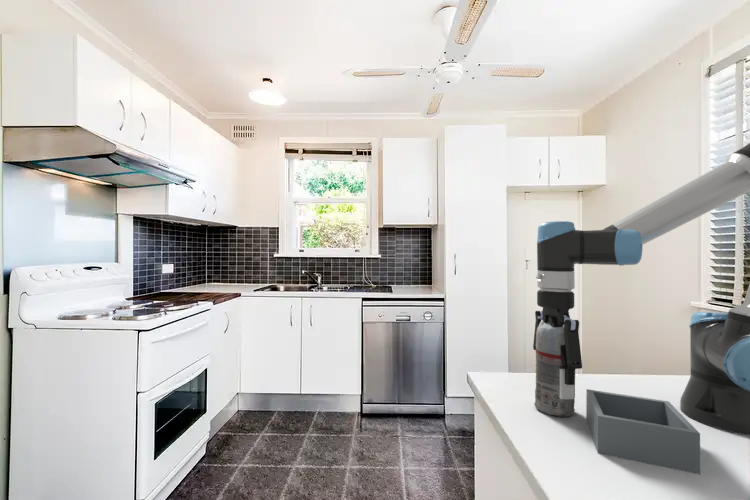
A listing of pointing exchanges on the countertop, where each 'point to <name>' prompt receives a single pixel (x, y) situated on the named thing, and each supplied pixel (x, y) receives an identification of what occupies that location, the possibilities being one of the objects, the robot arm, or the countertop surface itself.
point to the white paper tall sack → (550, 371)
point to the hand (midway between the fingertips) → (555, 390)
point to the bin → (642, 430)
